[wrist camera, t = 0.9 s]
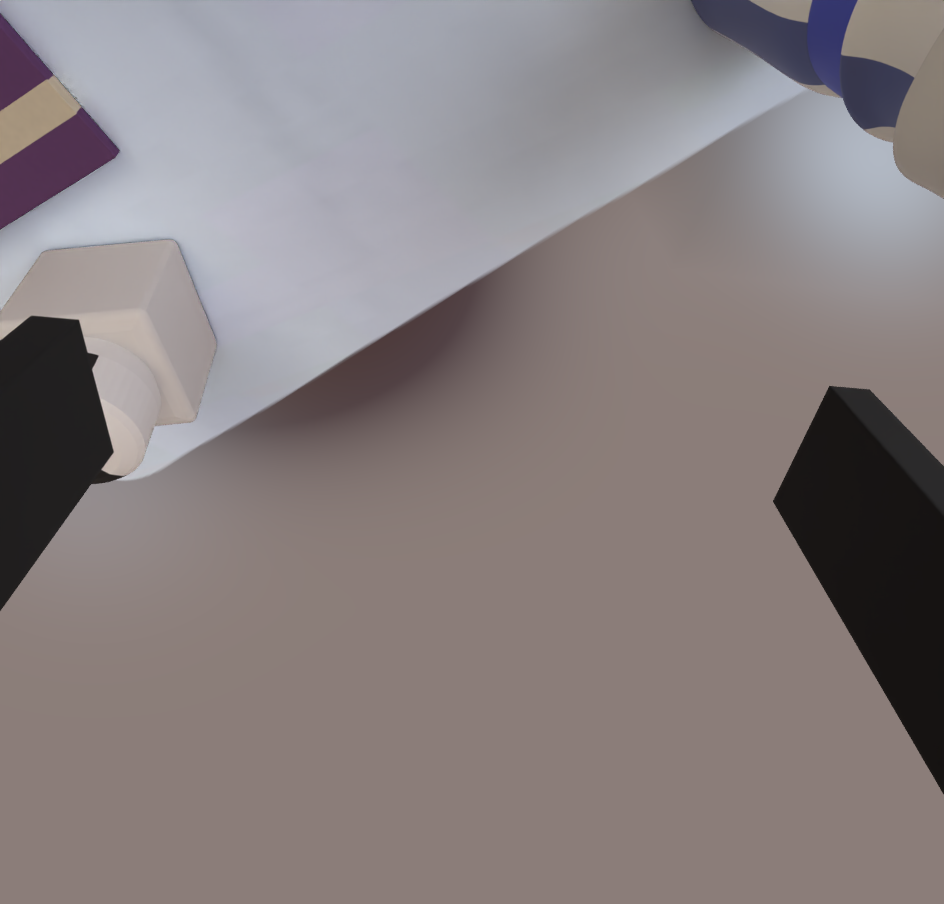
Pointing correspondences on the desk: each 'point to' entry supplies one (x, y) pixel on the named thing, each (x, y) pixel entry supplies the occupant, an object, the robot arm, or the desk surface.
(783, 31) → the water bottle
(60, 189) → the towel
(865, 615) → the robot arm
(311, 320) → the desk surface
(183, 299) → the medicine bottle
